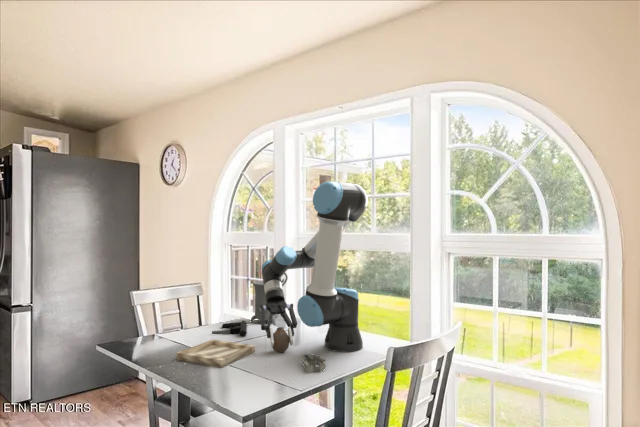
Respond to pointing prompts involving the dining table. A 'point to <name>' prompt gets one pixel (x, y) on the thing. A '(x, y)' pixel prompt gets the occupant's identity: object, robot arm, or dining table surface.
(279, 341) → the vase
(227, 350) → the tray
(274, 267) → the robot arm
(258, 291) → the mug
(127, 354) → the dining table surface
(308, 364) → the egg carton
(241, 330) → the door handle
